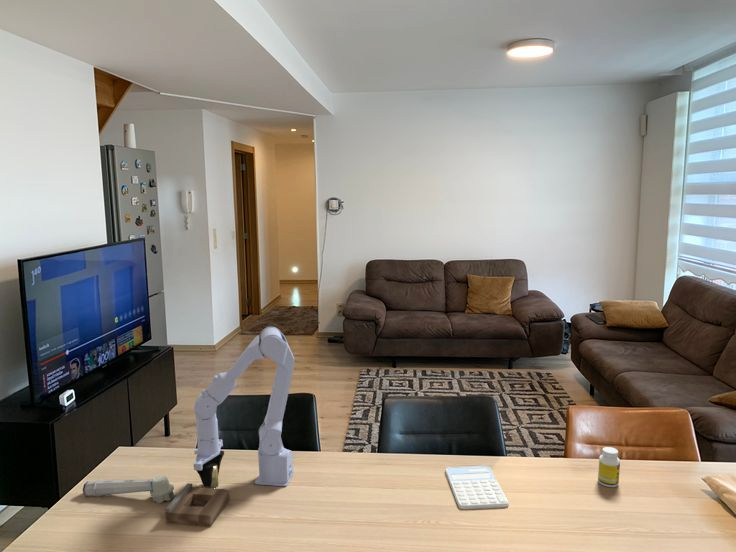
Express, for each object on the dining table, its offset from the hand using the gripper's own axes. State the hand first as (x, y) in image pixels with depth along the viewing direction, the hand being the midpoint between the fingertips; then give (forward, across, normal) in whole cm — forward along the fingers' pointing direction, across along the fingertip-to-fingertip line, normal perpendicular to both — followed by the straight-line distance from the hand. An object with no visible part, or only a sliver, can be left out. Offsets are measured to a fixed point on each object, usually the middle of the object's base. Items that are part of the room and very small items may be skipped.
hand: (210, 481), depth 156 cm
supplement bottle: (+2, -15, +111) cm, 112 cm away
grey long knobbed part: (+2, +8, -20) cm, 22 cm away
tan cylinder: (+1, 0, 0) cm, 1 cm away
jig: (+1, +12, +2) cm, 12 cm away
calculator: (+2, -8, +74) cm, 74 cm away
